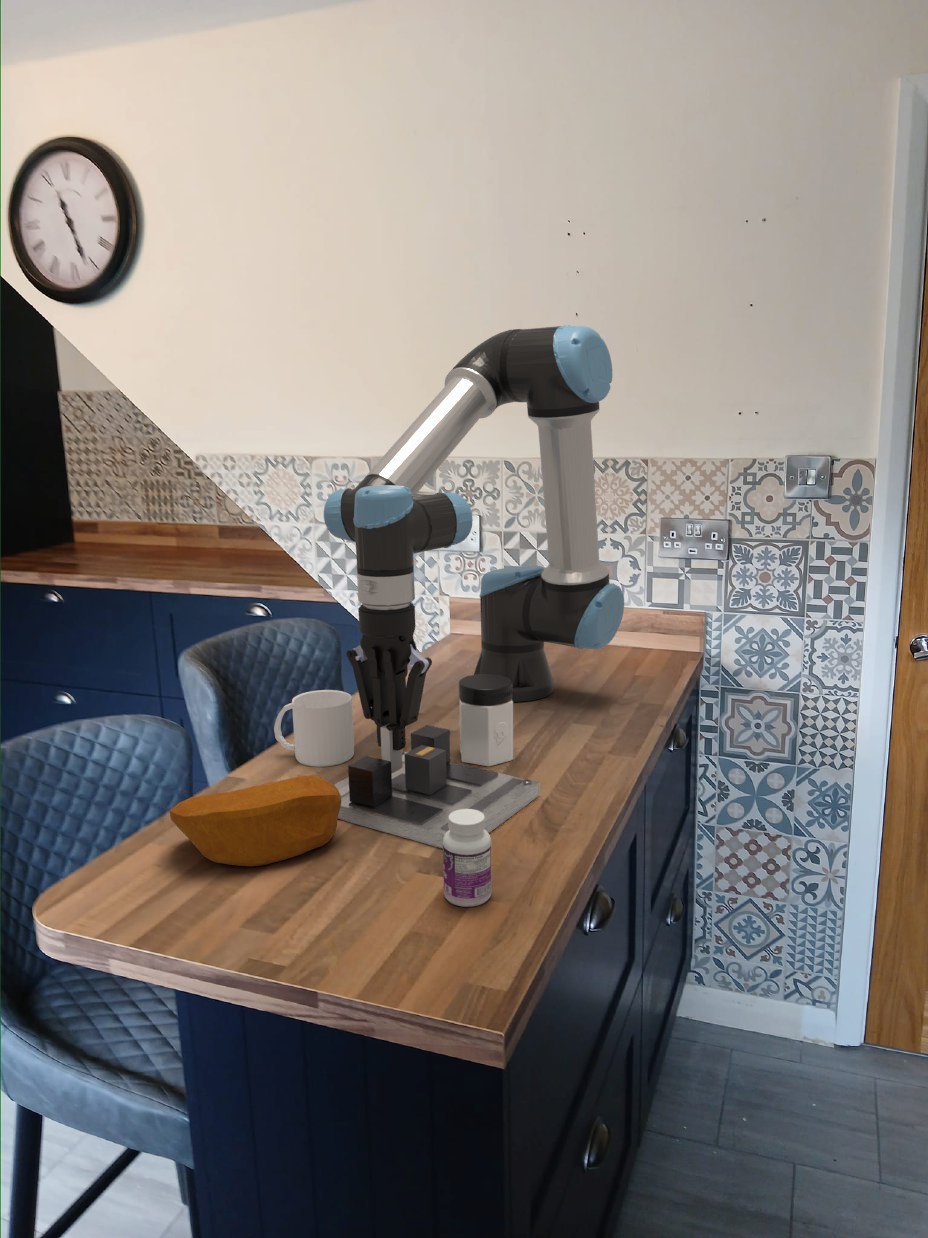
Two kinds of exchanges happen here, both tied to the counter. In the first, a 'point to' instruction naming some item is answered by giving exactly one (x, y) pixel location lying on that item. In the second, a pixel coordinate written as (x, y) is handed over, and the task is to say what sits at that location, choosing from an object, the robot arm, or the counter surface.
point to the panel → (423, 817)
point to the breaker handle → (425, 769)
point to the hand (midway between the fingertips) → (392, 769)
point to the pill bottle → (467, 859)
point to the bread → (261, 821)
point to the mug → (320, 728)
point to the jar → (486, 719)
